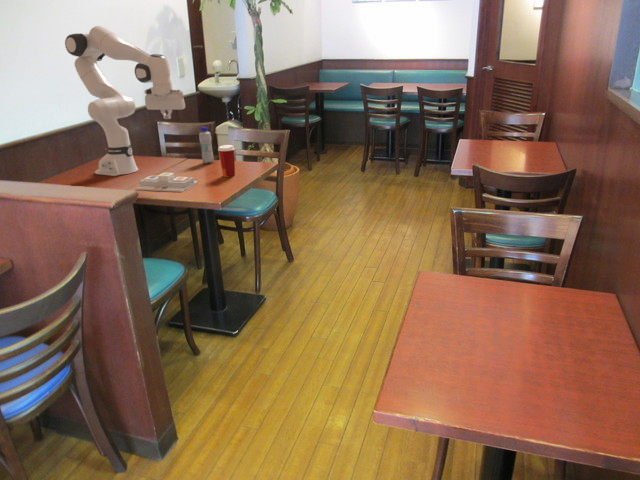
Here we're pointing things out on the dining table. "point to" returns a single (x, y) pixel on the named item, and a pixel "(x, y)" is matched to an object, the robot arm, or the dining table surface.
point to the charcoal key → (151, 178)
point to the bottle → (206, 145)
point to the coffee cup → (227, 160)
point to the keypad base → (166, 185)
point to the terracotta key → (180, 179)
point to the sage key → (166, 177)
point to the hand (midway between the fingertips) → (167, 118)
